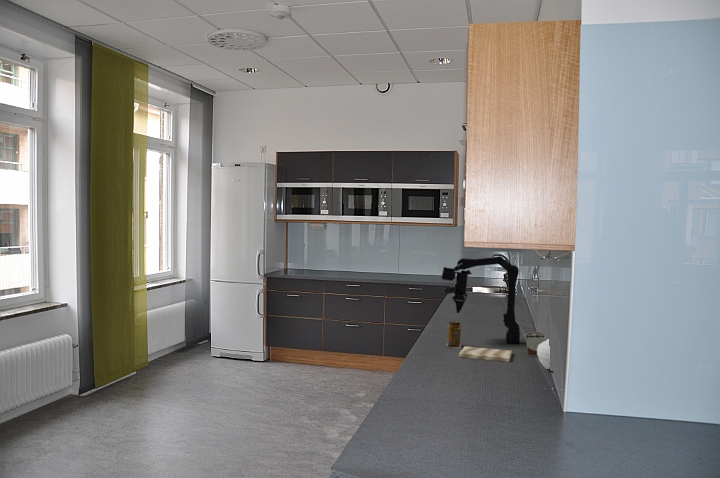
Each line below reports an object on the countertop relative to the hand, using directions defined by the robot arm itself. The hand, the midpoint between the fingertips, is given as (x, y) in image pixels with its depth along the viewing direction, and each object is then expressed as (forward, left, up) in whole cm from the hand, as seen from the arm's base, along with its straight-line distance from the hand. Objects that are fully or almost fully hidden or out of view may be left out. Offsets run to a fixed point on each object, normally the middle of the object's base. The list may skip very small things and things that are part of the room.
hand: (458, 311), depth 292 cm
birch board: (-18, +32, -14) cm, 40 cm away
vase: (-50, +46, -14) cm, 70 cm away
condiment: (-1, +19, -15) cm, 24 cm away
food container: (-40, +20, -14) cm, 47 cm away
